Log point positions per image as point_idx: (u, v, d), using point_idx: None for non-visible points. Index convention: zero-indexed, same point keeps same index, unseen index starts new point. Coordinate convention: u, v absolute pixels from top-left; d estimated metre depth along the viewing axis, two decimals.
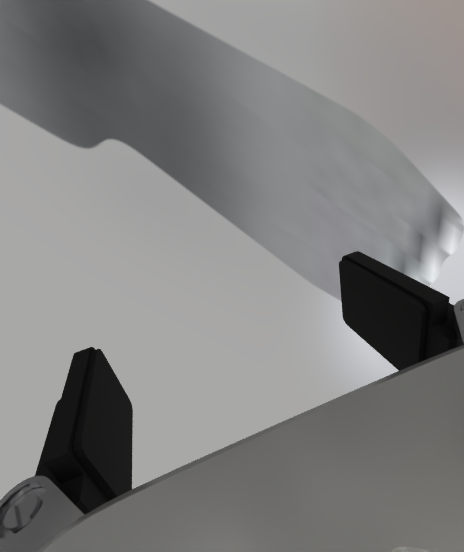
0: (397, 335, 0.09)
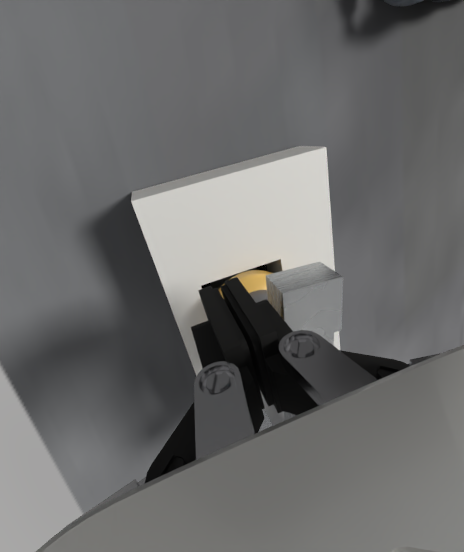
0: (253, 362, 0.10)
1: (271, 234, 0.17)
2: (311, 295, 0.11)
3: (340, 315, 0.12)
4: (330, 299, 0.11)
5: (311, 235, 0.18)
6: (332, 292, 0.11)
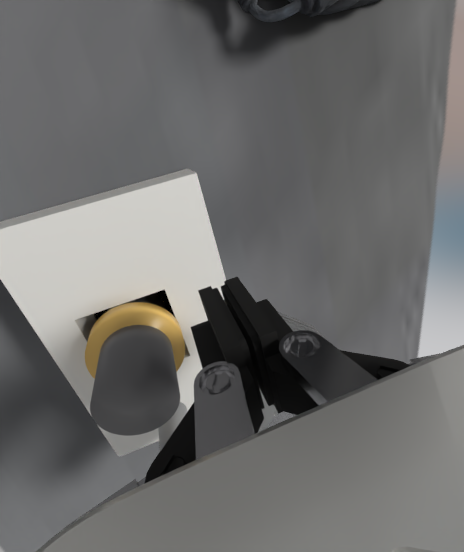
0: (253, 362, 0.10)
1: (148, 265, 0.16)
2: None
3: None
4: None
5: (197, 264, 0.17)
6: None
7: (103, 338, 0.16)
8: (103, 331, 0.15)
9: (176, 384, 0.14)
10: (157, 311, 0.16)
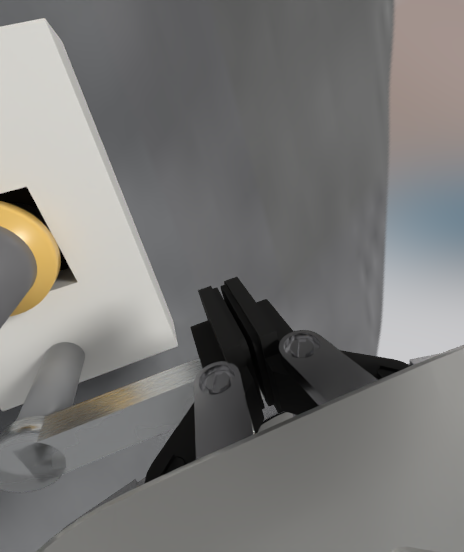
0: (253, 362, 0.10)
1: None
2: None
3: None
4: None
5: (66, 154, 0.14)
6: None
7: None
8: None
9: None
10: (10, 209, 0.13)
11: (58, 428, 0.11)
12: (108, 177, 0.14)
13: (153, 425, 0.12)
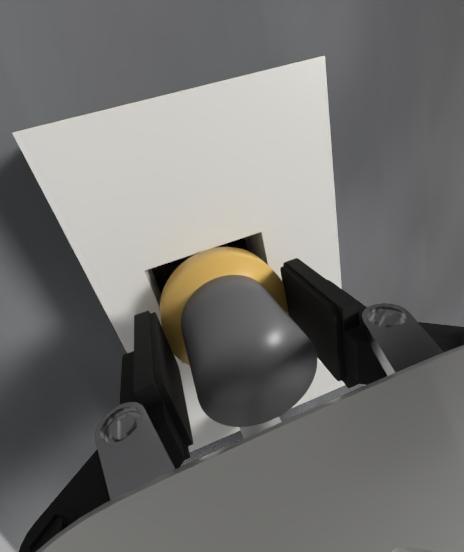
0: (323, 338, 0.10)
1: (246, 194, 0.12)
2: None
3: None
4: None
5: (305, 197, 0.13)
6: None
7: (189, 292, 0.11)
8: (190, 282, 0.11)
9: (314, 351, 0.09)
10: (257, 258, 0.12)
11: None
12: (335, 219, 0.13)
13: None
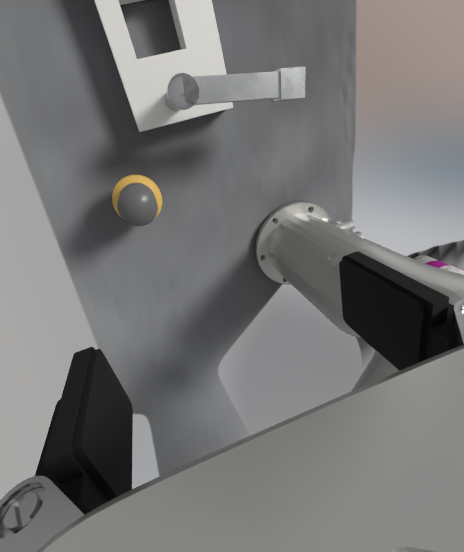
0: (397, 335, 0.09)
1: None
2: (301, 81, 0.28)
3: (288, 97, 0.28)
4: (297, 91, 0.28)
5: None
6: (299, 92, 0.28)
7: (121, 188, 0.32)
8: (121, 184, 0.32)
9: (155, 200, 0.30)
10: (147, 178, 0.33)
11: None
12: None
13: (237, 92, 0.27)
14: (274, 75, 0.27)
